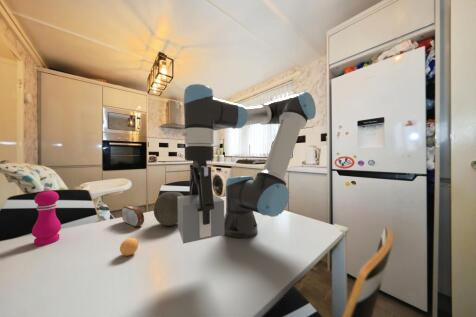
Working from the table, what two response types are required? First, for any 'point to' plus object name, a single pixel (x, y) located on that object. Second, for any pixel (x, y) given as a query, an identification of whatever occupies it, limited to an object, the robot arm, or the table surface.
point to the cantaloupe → (167, 208)
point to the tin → (132, 215)
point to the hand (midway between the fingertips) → (200, 227)
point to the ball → (129, 246)
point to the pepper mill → (46, 218)
